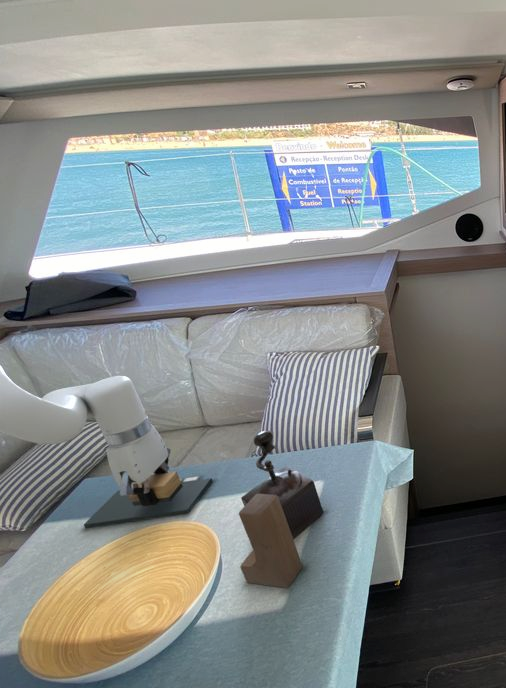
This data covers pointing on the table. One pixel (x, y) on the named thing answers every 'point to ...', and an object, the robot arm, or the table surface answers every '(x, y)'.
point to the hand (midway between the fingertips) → (158, 495)
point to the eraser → (161, 487)
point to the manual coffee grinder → (287, 489)
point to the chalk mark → (191, 479)
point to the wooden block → (269, 543)
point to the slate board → (125, 511)
